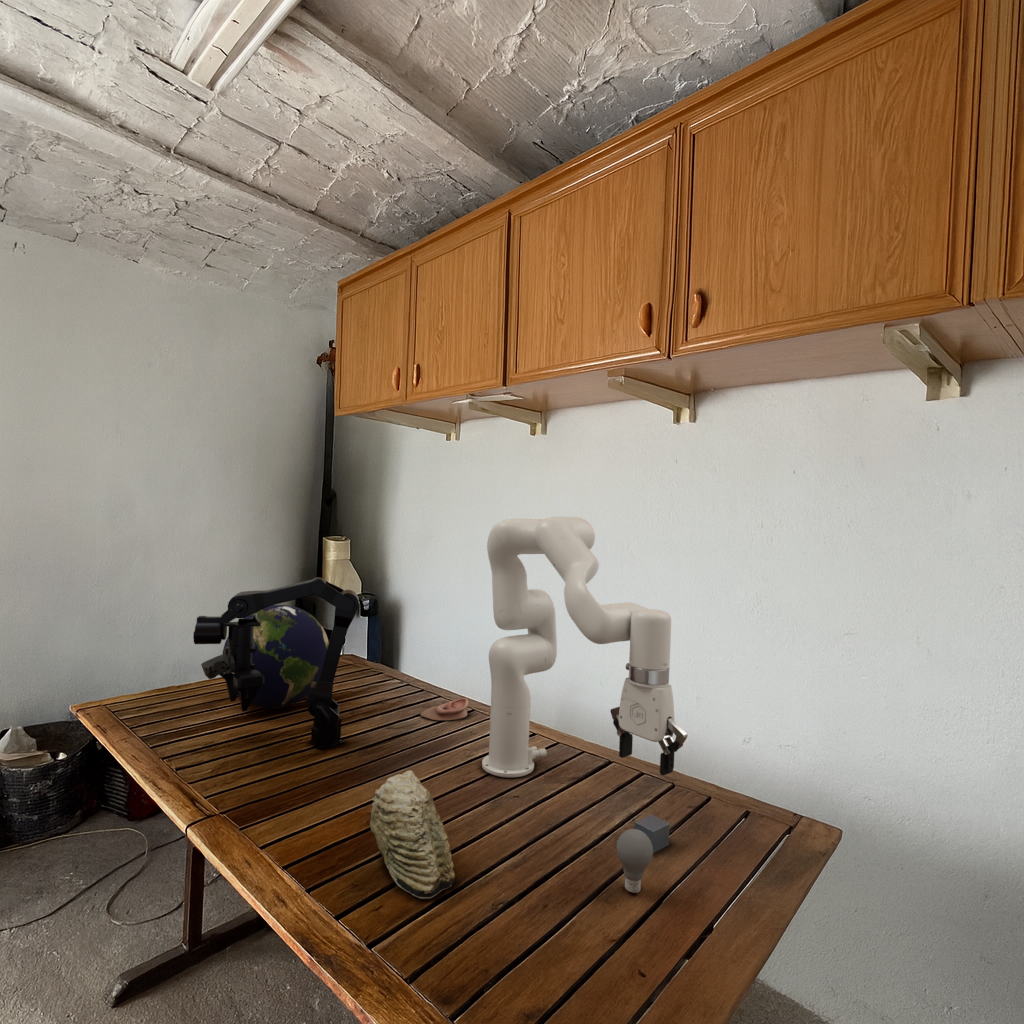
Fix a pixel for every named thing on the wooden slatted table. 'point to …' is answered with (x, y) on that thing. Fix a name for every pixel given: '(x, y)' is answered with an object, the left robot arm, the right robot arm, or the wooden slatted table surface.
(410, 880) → the fossil
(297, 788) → the wooden slatted table surface
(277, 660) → the globe
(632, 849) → the light bulb
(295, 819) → the wooden slatted table surface
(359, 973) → the wooden slatted table surface
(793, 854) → the wooden slatted table surface
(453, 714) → the anatomical model
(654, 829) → the blue-grey block
